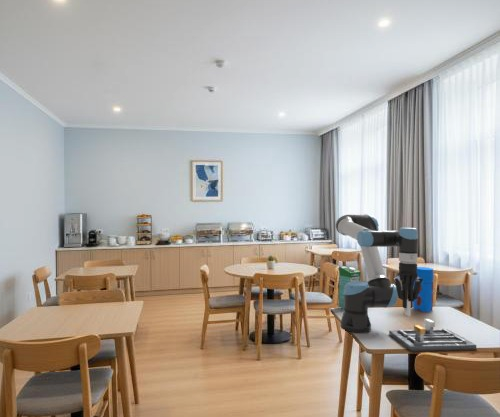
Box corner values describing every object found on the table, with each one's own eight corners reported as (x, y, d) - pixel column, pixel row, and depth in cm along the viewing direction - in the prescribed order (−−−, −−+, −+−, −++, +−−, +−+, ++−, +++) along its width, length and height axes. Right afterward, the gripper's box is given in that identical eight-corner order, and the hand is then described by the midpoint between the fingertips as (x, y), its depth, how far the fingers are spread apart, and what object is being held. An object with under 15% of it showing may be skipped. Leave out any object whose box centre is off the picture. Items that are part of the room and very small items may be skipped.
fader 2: (430, 335, 170) (430, 322, 170) (423, 331, 175) (424, 318, 175) (434, 335, 170) (434, 322, 170) (428, 331, 176) (428, 318, 175)
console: (411, 351, 157) (411, 343, 157) (388, 334, 177) (389, 327, 177) (476, 349, 159) (476, 342, 159) (447, 333, 180) (447, 326, 180)
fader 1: (420, 343, 160) (420, 329, 160) (413, 338, 166) (414, 325, 165) (425, 343, 161) (425, 329, 160) (418, 338, 166) (418, 325, 166)
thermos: (409, 309, 222) (410, 268, 221) (417, 305, 229) (418, 266, 229) (428, 313, 214) (429, 270, 213) (435, 309, 221) (436, 268, 221)
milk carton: (349, 310, 216) (350, 268, 216) (338, 307, 224) (339, 266, 224) (360, 308, 221) (360, 267, 221) (348, 305, 229) (349, 265, 228)
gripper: (398, 263, 158) (397, 318, 158) (426, 263, 159) (426, 317, 159) (390, 261, 165) (389, 313, 165) (417, 261, 166) (416, 312, 166)
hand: (407, 315), depth 162 cm, fingers closed
